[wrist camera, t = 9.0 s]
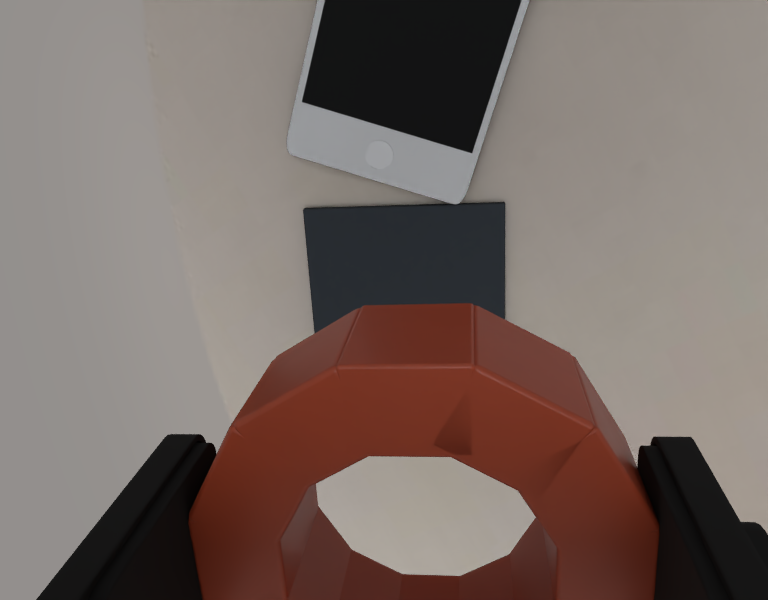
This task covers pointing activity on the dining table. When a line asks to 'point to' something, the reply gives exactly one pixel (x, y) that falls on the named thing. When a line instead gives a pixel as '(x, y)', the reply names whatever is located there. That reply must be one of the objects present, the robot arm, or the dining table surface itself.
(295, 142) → the smartphone
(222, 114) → the dining table surface
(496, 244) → the coaster
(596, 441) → the ring
